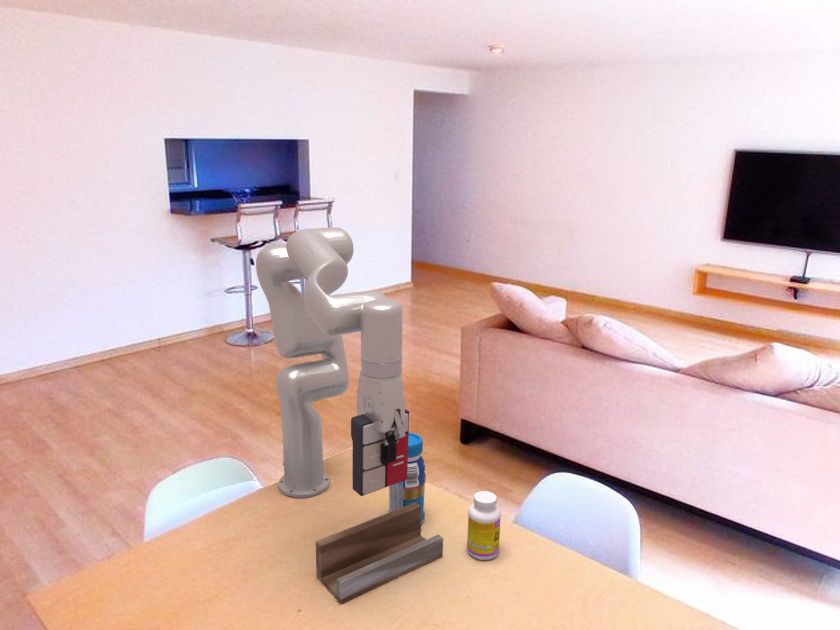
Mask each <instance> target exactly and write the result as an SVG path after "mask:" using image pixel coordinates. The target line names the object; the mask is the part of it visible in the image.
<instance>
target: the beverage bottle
mask: <svg viewBox="0 0 840 630" xmlns="http://www.w3.org/2000/svg"><path fill="white" fill-rule="evenodd" d="M423 441H424V440H423V438H422V436H421V435H420V434H417V433H415V432H409V436H408V469H407V479H406V480H404V481H402V482H399V483H396V484H394V485H391V486H388V489H389V490H388V491H389V492H388V500H389V501H388V503H389V504H388V507H389V509H388V513H389V512H392V511H394V510H397V509H400V508H402V507H405V506H407V505H410V504H412V503H415V502H416V503H417V504H419V505H420V506H421V524H422V523H423V522H424V521H425V517H426V515H425V513H426V512H425V489H426V486H425V485H426V482H427V475H426V472H425V471H426V467H427V466H426V462H425V459H424V458H423V456H422V453H423V451H424V450H423V448H424V447H423V445H424V444H423V443H424V442H423Z"/></svg>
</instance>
